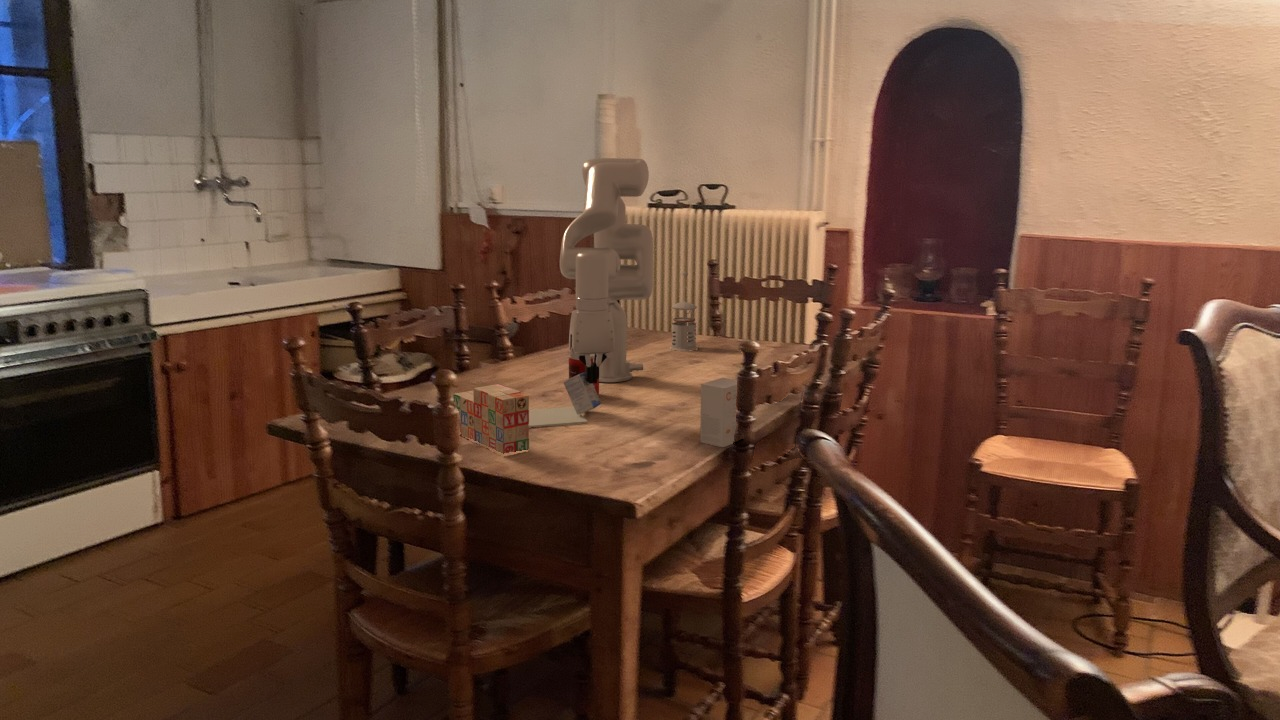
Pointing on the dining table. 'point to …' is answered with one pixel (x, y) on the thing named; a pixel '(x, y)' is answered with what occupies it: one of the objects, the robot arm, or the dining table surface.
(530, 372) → the dining table surface
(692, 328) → the grey lantern
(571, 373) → the canned food
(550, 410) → the mat
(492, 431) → the stack of blocks
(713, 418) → the small box
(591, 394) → the medicine box
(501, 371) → the dining table surface
